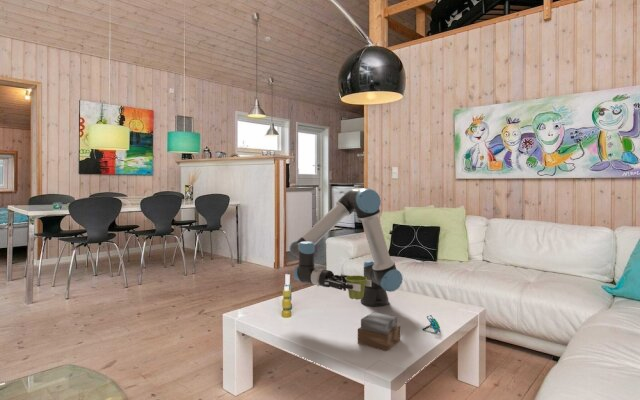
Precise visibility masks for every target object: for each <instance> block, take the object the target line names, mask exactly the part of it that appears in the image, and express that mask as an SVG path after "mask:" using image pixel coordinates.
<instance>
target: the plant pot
mask: <svg viewBox="0 0 640 400" xmlns="http://www.w3.org/2000/svg"><path fill="white" fill-rule="evenodd" d="M345 279H346V281H347V282H348V283H354V284H359V285H361V291H360V292H359V291H354V290H349V289H347V291H348V297H349V299H350V300H356V301H357V300H361V299H362V298H363V296H364V288H365V283H366V280H367V278H366V277H364V275H349V276H348V277H346V278H345Z"/></svg>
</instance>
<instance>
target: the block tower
mask: <svg viewBox="0 0 640 400" xmlns="http://www.w3.org/2000/svg"><path fill="white" fill-rule="evenodd" d="M400 341H401V325H398V316H395V315H391V314H386V313H380V312H376V311H372V312H371V313H369V314H367V315H366V316H364V317H362V318H361V319H360V327H358V328H357V344H359V345H362V346H365V347H370V348H374V349H378V350H380V351H381V350H382V351H384V352H387V351H389V350H390V349H391V348H392V347H393V346H395V345H396V344H397V343H398V342H400Z"/></svg>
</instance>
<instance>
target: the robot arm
mask: <svg viewBox="0 0 640 400" xmlns="http://www.w3.org/2000/svg"><path fill="white" fill-rule="evenodd" d="M380 196H381V195H379V193H378V192H377V191H376V190H374V189H371V188H367V187H364V188H363V187H362V188H360V187H354V188H351V189H350V190H348V191H347V192H346V193H345V194H344V195H342V196H341V197H340V198H339V199H338V200H337V201H336V202H335V205H334V206H333V207H332V208H331V209H330V210H329V211H328V212H327V213H326V214H325V215H323V217H322V218H321V219H319V220H318V221H317V222H316V223H315V224H314V225H313V226H312V227H311V228H310V229H309V230H307V231H306V232H305V234H303V235H302V236H301V237H300V238H299V239H298V240H294V241H292V242H291V243H290V245H289V252H290V253H291V255H292V256H294V257H296V258H297V259H298V265H297V266H296V267H295V268H294V271H293V278H294V280H295V281H297V282H300V283H302V284H303V283H304V284H310V285H315V286H317V287H323V288H333V289H337V290H340V291H342V290H343V291H344V292H345V291H347V290H348V289H349V290H354V291H359V292H360V291H361V285H359V284H354V283H348V282H347V281H346V279H345V278H346V277H348V276H350V275H348V274H342V273H341V274H334V272H333V271H332V270H327V269H323V268H315V255H316V254H315V253H316V252H315V251H316V249H315V245H316V244H318V242H320V240H321V239H322V238H324V237H325V236H326V235H327V234H328V233H329V232H330V231H331V230H332V229H334V227H335V226H337V225H338V224H339V223H340V222H341V221H342V220H343V219H344V218H345V217H346V216H347V217H349V216H350V215H351V214H353V213H354V212H355V214H356V216H357V219H358V220H360V222H361V223H362V226H363V230H364V234H365V237H366V241H367V244H368V247H369V251H370V254H371V257H372V259H370V260H369V259H368V260H365V261H364V263H363V276H364V277H366V278H367V280H366V283H365V288H364V296H363V298H362V299H360V303H361V304H362V305H365V306H369V307H383V306H386V305H389V302H390V301H389V297H388V292H389V293H390V292H392V293H393V292H395V291H397V290H398V289H399V288H401V285H402V283H403V275H402V273H401V271H400V270H398V269H397V266H396V264H395V261H394V260H393V259H391V256H390V253H389V250H388V246H387V242H386V239H385V235H384V233H383V228H382V226H381V222H380V218H379V215H380V213H381V209H380V206H381V197H380Z"/></svg>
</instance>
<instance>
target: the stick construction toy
mask: <svg viewBox="0 0 640 400" xmlns="http://www.w3.org/2000/svg"><path fill="white" fill-rule="evenodd" d="M429 317H430V318H429ZM426 318H427V320H428V322H429V324H428V325H427V326H425V327H423V328H422V331H425V330H427V329H428V328H430V329H431V328H433V331H434V332H435V334H438V333H440V332H441V329H440V324H439V322H438V321H437V320H436V318H434V317H433V316H432V314H431V315H427V316H426ZM436 329H437V330H438V331H439V332H438V331H436Z"/></svg>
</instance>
